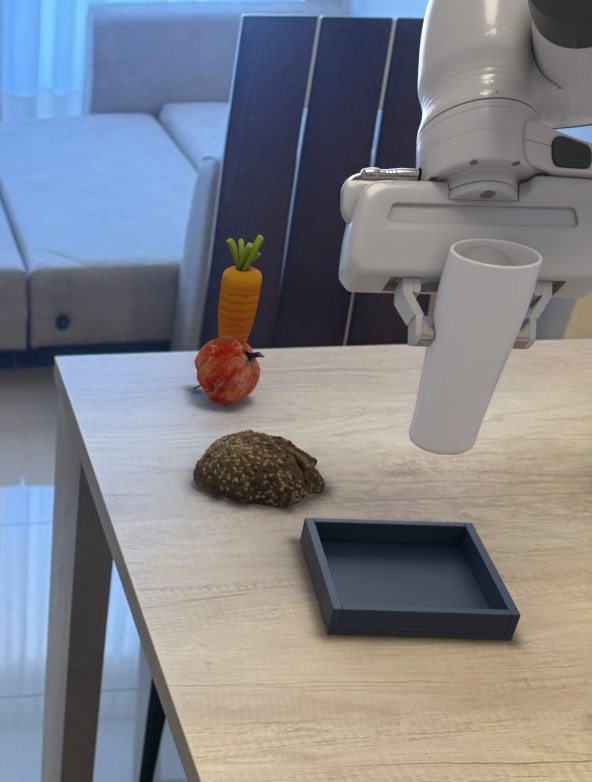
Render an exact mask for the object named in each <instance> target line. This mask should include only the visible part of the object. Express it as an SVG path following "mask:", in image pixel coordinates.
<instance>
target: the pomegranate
mask: <svg viewBox="0 0 592 782" xmlns="http://www.w3.org/2000/svg"><path fill="white" fill-rule="evenodd" d="M258 358H265V355H263V354H262V353H261V352H260V351H254V352H253V347H252V346H251V345H250V344H249V343H247V342H245V341H243V340H236V339H234V338H232V337H229V336H221V337H219V336H218V337H216V338H213V339H211V340H209V341H207V342H206V343H205V344H204V345H203V346H201V348H200V349H199V351H198V353H197V355H196V356H195V359H194V366H195V369H196V371H197V372H196V381H197V383H198V385H196V386H193V390H194V391H195V390H197V389H198V388H202V390H203V391H204V393H205V394H206V395H207V397H208V400H209V401H210V402H212V403H214V404H218V405H223V406H225V405H226V406H227V405H231V404H234V403H237V402H238V401H240V400H241V399H244V398H246V397H248V396H249V395H250V394H252V392H254V390H255V389H256V387H257V385H258V383H259V381H260V376H261V367H260V363H259V361H258V360H257V359H258Z"/></svg>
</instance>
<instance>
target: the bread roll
mask: <svg viewBox="0 0 592 782" xmlns="http://www.w3.org/2000/svg"><path fill="white" fill-rule="evenodd" d="M316 465H318V459H317V458H316V457H314V456H311V455H310V454H309V453H308V452H306V451H304V450H302V449H301V448H299V447H298V446H296V444H294V443H293V442H292V441H291V440H290V439H287V438H285V437H282V436H280V435H273V434H267V433H265V432H259V431H254V430H252V429H249V428H248V429H245V430H241V431H237V432H234V433H231V434H227V435H222V436H221V437H220V438H218V439H215V440H214V442H212V443H211V444H210V445H209V447H208V448H206V449H205V451H204V454H202V456H201V458H200V459H198V460H197V461H196V464H195V468H194V469H193V472H192V477H193V482H194V483H195V484H196V485H198V486H199V487H201V488H204V489H205V490H206V491H207V492H210V493H212V494H214V495H216V496H222V497H224V498H226V499H227V500H230V501H232V502H233V501H234V502H235V503H238V504H243V505H259V506H265V507H271V508H276V509H283V508H284V509H285V508H289V507H293V506H294V505H296V504H298V503H300V502H301V501H302V500H303V499H305V498H306V497H307V496H308V495H310V494H321V493H322V492H323V491H324V490H325V489H326V483H325V479H324V478H323V476H322V474H321V473H320V471H319V470H318V468H316Z"/></svg>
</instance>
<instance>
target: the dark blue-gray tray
mask: <svg viewBox="0 0 592 782" xmlns="http://www.w3.org/2000/svg"><path fill="white" fill-rule="evenodd" d="M299 545H300V547H301V551H302V554H303V558H304V561H305V563H306V564H305V565H306V568H307V571H308V574H309V577H310V581H311V584H312V588H313V591H314V594H315V597H316V601H317V604H318V608H319V611H320V614H321V618H322V621H323V624H324V628H325V631H326V634H327V635H332V636H360V637H363V636H364V637H392V638H393V637H394V638H421V639H422V638H423V639H449V640H451V639H452V640H480V641H482V640H483V641H507V642H509V641H512V640H513V638H514V634H515V632H516V629H517V626H518V624H519V621H520V619H521V613H520V611H519V609H518V608H517V605H516V604H515V601H514V600H513V597H512V596H511V594H510V591H508V588H507V586H506V584H505V583H504V580H503V579H502V577H501V574H500V573H499V571H498V569H497V567H496V566H495V563H494V562H493V560H492V558H491V556H490V554H489V552H488V551H487V548H486V546H485V545H484V543H483V541H482V539H481V537H480V536H479V533H478V531H477V529H476V527H475V526H474V523H473V522H461V521H460V522H456V521H427V520H426V521H423V520H394V519H393V520H392V519H391V520H390V519H359V518H325V517H304V519H303V524H302V530H301V533H300V538H299Z"/></svg>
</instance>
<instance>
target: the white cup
mask: <svg viewBox="0 0 592 782" xmlns="http://www.w3.org/2000/svg"><path fill="white" fill-rule="evenodd" d="M475 246H491V247H494V248H496V249H498V250H500V251H502V252H503V253H504V254H506V255H507V256H508V257H509V258H510V260H511V261H512V262H513V264H514V265H515V266H498V265H491V264H485V263H480V262H476V261H473V260H470V259H467V258H464V257H462V256H460V254H461V253H463V252H464V251H466V250H467V249H469V248H472V247H475ZM542 260H543V259H542V256H541V255H540V254H539V253H538V252H537V251H535V250H534V249H532V248H530V247H527V246H524V245H521V244H518V243H514V242H509V241H504V240H496V239H467V240H462V241H459V242H456V243H454V244H453V245H452V246H451V247H450V250H449V253H448V256H447V259H446V262H445V265H444V269H443V272H442V275H441V279H440V282H439V286H438V290H437V294H435V298H434V303H433V308H432V312H431V316H434V326H433V329H434V338H433V340H432V342H431V343H429V345H428V346H427V347H426V346H425V350H424V355H423V361H422V366H421V373H420V378H419V383H418V387H417V394H416V399H415V404H414V410H413V413H412V417H411V421H410V424H409V429H408V438H409V439H410V442H411V443H412V444H413V445H414V446H416V447H417V448H418V449H421V450H423V451H425V452H428V453H432V454H435V455H443V456H455V455H461V454H464V453H466V452H468V451H470V450H471V449H472V448H473V447H474V445H475V444H476V442H477V439H478V436H479V433H480V430H481V427H482V423H483V421H484V419H485V416H486V414H487V412H488V409H489V406H490V404H491V401H492V399H493V396H494V394H495V392H496V389H497V387H498V384H499V382H500V379H501V377H502V374H503V372H504V370H505V367H506V365H507V363H508V360H509V358H510V355H511V353H512V350H513V349H512V348H513V346H514V343H515V341H516V339H517V336H518V334H519V331H520V329H521V326H522V324H523V321H524V319H525V316H526V314H527V313H528V311H529V309H530V307H529V305H530V302H531V299H532V296H533V293H534V289H535V286H536V282H537V279H538V275H539V271H540V268H541V264H542Z"/></svg>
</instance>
